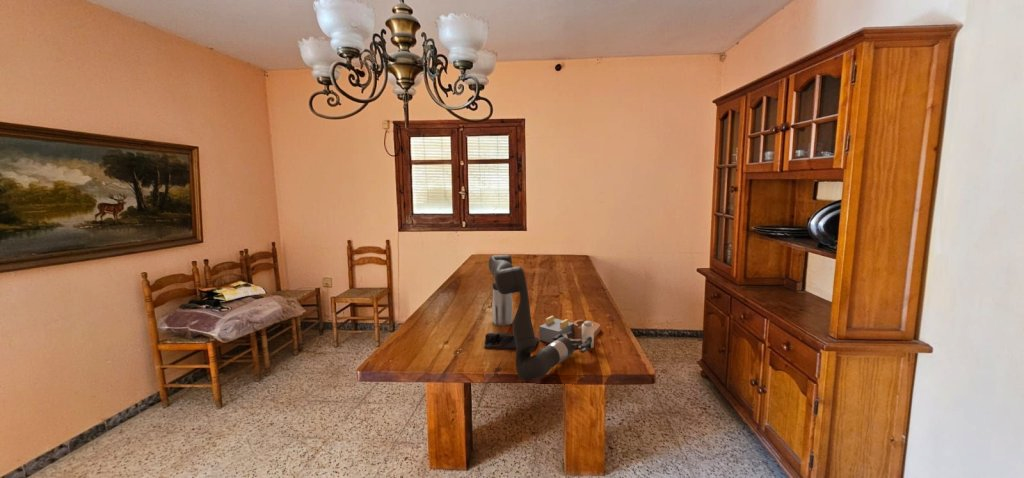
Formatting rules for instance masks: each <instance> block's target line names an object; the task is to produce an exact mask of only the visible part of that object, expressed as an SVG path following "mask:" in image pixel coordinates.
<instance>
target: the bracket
mask: <svg viewBox="0 0 1024 478" xmlns="http://www.w3.org/2000/svg"><path fill="white" fill-rule="evenodd" d="M585 321H590V320H588V319H587V320H585ZM591 322H592V324H593V325H594V339H595V338H596V337H597V336H598V335H599V333H600V332H601V324H600V323H599V322H597V321H596V322H595V321H591ZM573 323H574V337H573V339H574V340H575V339H581V340H582V324H584V319H577V320H574V321H573Z"/></svg>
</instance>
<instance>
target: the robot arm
mask: <svg viewBox="0 0 1024 478" xmlns="http://www.w3.org/2000/svg"><path fill="white" fill-rule="evenodd" d="M488 269H489V273H490V274H491V275H492V277H493V280H494V281H493V283H492V305H491V307H492V323H494V325H495V326H502V327H503V326H505V327H506V326H509V325H512V332H513V333H512V334H514V338H515V342H516V349H515V350H516V351H515V368H516V373H517V375H518V376H519V378H520V379H521V380H523V381H525V382H529V381H532V380H535V379H537V378H541V377H543V376H545V375H546V374H547V373H548V372H549V371H550V370H551V369H552V368H553V367H555V366H556V365H557V364H560V363H562V362H563V361H565V360H566V359H567V358H569V357H570V356H572V355H573V354H574V352H575V351H577V350H579V351H580V353H583V354H584V353H585V352H587V351H589V350H590V349H592V348H591V343H592V337H588V338H586V339H585V340H581V339H574V337H573V332H569V333H567V334H564V335H562V333H559V334H557V335H556V336H554V337H553V342H552V343H549V344H548V345H547V346H545V347H543V348H542V349H540V350H539V351H538V352H537V353H535V355H532V356H531V354H532V351H533V350H534V349H535V348H536V346H537V343H536V339H535V337H536V335H535V331H534V326H533V322H532V315H531V307H530V299H529V298H530V297H529V291H528V285H527V278H526V273H525V271H524V269H523V267H521V266H520V265H518V266H513V259H512V256H511V255H510V254H494V255H491V256H490V257H489V259H488ZM515 293H519V302H518V307H517V310H516V313H515V315H514V314H513V313H514V311H513V310H514V309H513V294H515ZM571 337H572V338H571ZM583 342H585V344H582V343H583Z"/></svg>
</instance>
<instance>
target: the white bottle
mask: <svg viewBox="0 0 1024 478" xmlns="http://www.w3.org/2000/svg"><path fill="white" fill-rule="evenodd" d="M592 322H593V321H591V320H589V321H586V320H585V321H584V324H582V340H585V339H586V338H588V337H592V343H591V349H593V348H594V347H595V343H594V341H595V338H594V325H593V324H592ZM582 344H585V342H583V343H582Z"/></svg>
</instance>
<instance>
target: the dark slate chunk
mask: <svg viewBox="0 0 1024 478" xmlns="http://www.w3.org/2000/svg"><path fill="white" fill-rule="evenodd" d="M484 338H485V339H484V346H483V348H485V349H493V350H494V349H496V350H516V342H515V338H514V333H504V332H489V333H486V334H485V337H484ZM535 339H536V344H538V343H539V340H540V338H539V337H537V336H535ZM497 343H498V344H497Z"/></svg>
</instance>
